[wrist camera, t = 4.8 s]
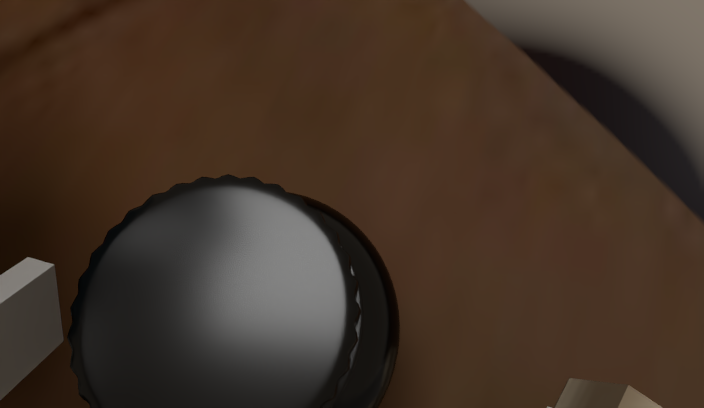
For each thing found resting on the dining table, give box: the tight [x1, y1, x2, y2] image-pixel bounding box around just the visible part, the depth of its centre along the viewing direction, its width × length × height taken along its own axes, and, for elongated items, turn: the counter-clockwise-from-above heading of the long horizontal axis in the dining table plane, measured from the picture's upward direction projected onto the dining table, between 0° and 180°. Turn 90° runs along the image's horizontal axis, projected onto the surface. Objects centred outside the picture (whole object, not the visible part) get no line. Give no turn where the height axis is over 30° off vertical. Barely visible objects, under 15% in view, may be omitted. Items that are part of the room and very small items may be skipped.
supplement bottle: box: [67, 174, 400, 408], centre depth 13 cm, size 7×7×12 cm
